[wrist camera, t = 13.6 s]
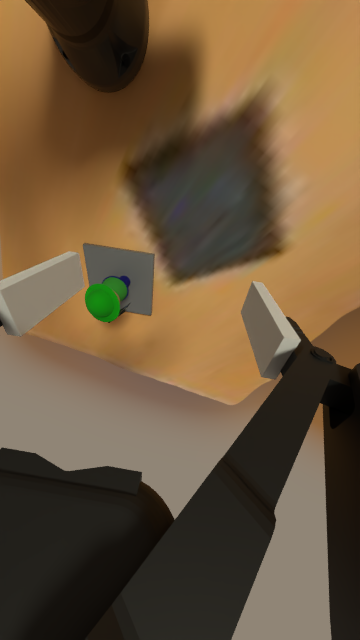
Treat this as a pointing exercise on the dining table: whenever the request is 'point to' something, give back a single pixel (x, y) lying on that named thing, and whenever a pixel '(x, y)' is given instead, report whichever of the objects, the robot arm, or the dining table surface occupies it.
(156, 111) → the dining table surface
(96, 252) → the plate
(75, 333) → the dining table surface
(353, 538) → the robot arm
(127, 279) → the toy
